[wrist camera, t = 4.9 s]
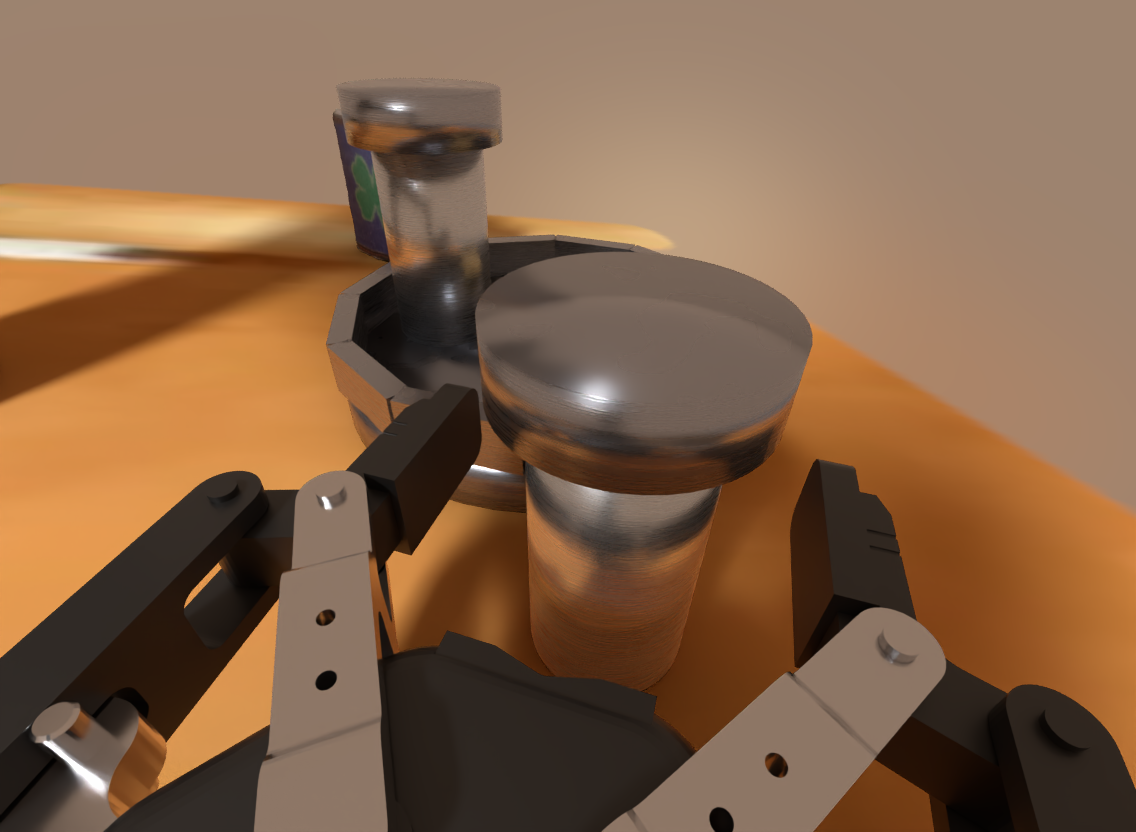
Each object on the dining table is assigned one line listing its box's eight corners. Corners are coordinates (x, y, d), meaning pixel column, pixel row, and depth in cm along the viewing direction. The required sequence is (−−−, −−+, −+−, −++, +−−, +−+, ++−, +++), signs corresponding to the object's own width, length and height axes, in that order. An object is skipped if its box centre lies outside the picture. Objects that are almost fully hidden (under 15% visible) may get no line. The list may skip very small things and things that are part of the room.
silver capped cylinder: (468, 688, 14) (410, 361, 8) (542, 524, 19) (539, 238, 13) (697, 763, 13) (827, 439, 7) (716, 567, 17) (803, 271, 12)
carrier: (257, 451, 21) (114, 107, 14) (459, 283, 35) (438, 65, 28) (722, 569, 17) (848, 173, 10) (744, 327, 31) (803, 87, 24)
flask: (462, 266, 38) (446, 88, 31) (431, 278, 36) (407, 92, 29) (377, 238, 42) (346, 77, 36) (345, 248, 40) (307, 79, 34)
